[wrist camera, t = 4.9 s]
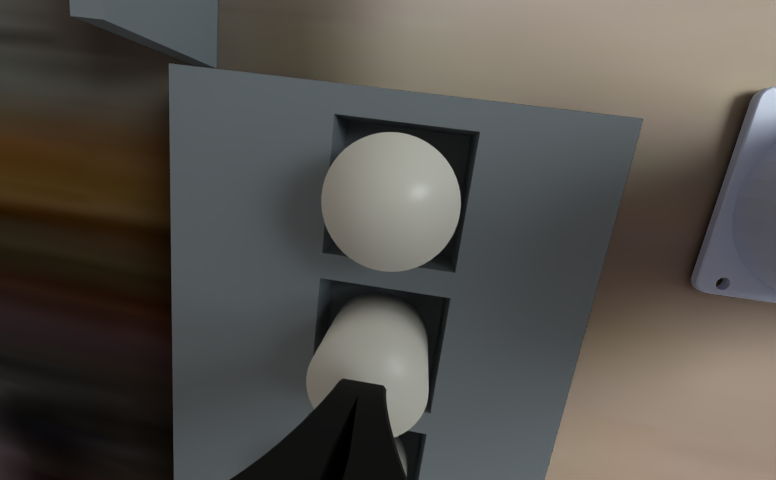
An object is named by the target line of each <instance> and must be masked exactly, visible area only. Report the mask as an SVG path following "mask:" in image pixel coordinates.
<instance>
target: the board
mask: <svg viewBox="0 0 776 480" xmlns="http://www.w3.org/2000/svg"><path fill="white" fill-rule="evenodd" d="M642 122H643V119H642V118H633V117H625V116H616V115H608V114H599V113H591V112H582V111H573V110H565V109H556V108H548V107H539V106H531V105H522V104H514V103H505V102H496V101H488V100H479V99H471V98H462V97H454V96H445V95H436V94H428V93H419V92H411V91H402V90H394V89H385V88H376V87H368V86H359V85H351V84H342V83H334V82H325V81H317V80H308V79H299V78H291V77H282V76H274V75H265V74H257V73H248V72H239V71H231V70H222V69H214V68H205V67H197V66H188V65H179V64H171V63H169V127H170V208H171V288H172V369H173V450H174V480H230V479H231V478H233V477H234V476H236V475H237V474H238V473H240V472H241V471H243V470H244V469H246V468H247V467H249V466H250V465H251V464H253V463H254V462H255V461H257V460H258V459H259V458H261V457H262V456H263V455H264V454H266V453H267V452H268V451H269V450H271V449H272V448H273V447H274V446H276V445H277V444H278V443H279V442H280V441H281V440H283V439H284V438H285V437H286V436H287V435H288V434H289V433H290V432H291V431H293V430H294V429H295V428H296V427H297V426H298V425H299V424H300V423H301V422H302V421H303V420H304V419H305V418H306V417H307V416H308V415H309V414H310V413H311V412H312V411H313V410H314V408H313V407H312V405H311V402H310V400H309V397H308V393H307V387H306V376H307V370H308V367H309V364H310V362H311V360H312V358H313V356H314V354H315V353H316V351H317V349H318V347H319V345H320V344H321V342H322V340H323V338H324V337H325V335H326V333H327V331H328V329H329V328H330V326H331V324H332V322H333V321H334V319H335V317H336V315H337V314H338V312H339V311H340V309H341V308H342V307H343V306H344V305H345V304H346V303H347V302H348V301H350V300H351V299H353V298H355V297H357V296H359V295H362V294H366V293H372V292H382V293H388V294H392V295H395V296H398V297H400V298H402V299H404V300H405V301H407V302H408V303H410V304H411V305H412V306H413V307H414V308H415V309H416V310H417V311H418V312H419V314H420V315H421V317H422V319H423V321H424V323H425V326H426V329H427V334H428V382H429V394H428V401H427V405H426V408H425V410H424V412H423V414H422V416H421V417H420V419H419V420H418V421H417V423H416V424H415V425H414V426H413V427H411V428H410V429H409V430H408V431H406V432H405V433H403V434H401V435H399V436H398V437H399V439H400V440H401V441H402V443H403V445H404V447H405V449H406V452H407V458H408V465H407V479H408V480H545V476H546V473H547V469H548V465H549V462H550V458H551V454H552V451H553V447H554V443H555V440H556V436H557V432H558V429H559V425H560V421H561V418H562V414H563V411H564V407H565V403H566V400H567V396H568V392H569V389H570V385H571V381H572V378H573V374H574V370H575V367H576V363H577V359H578V356H579V352H580V348H581V345H582V341H583V338H584V334H585V330H586V327H587V323H588V319H589V316H590V312H591V308H592V305H593V301H594V297H595V294H596V290H597V286H598V283H599V279H600V275H601V272H602V268H603V264H604V261H605V257H606V254H607V250H608V246H609V243H610V239H611V235H612V232H613V228H614V224H615V221H616V217H617V213H618V210H619V206H620V202H621V199H622V195H623V191H624V188H625V184H626V181H627V177H628V173H629V170H630V166H631V162H632V159H633V155H634V151H635V148H636V144H637V140H638V137H639V133H640V129H641V126H642ZM383 132H399V133H404V134H409V135H412V136H415V137H418V138H420V139H422V140H424V141H426V142H427V143H429V144H430V145H432V146H433V147H434V148H435V149H437V150H438V151H439V152H440V153H441V154H442V155H443V157H444V158H445V159H446V160H447V161H448V163H449V165H450V166H451V168H452V169H453V172H454V174H455V176H456V178H457V182H458V185H459V189H460V196H461V209H460V216H459V220H458V224H457V227H456V229H455V232H454V234H453V236H452V237H451V239H450V241H449V242H448V244H447V245H446V246H445V248H444V249H443V250H442V251H441V252H440V253H439V254H438V255H436V256H435V257H434V258H433V259H431V260H430V261H428V262H426V263H425V264H423V265H421V266H418V267H416V268H413V269H410V270H405V271H399V272H385V271H378V270H374V269H370V268H368V267H365V266H363V265H361V264H359V263H357V262H355V261H354V260H352V259H351V258H349V257H348V256H347V255H346V254H345V253H343V252H342V251H341V250H340V248H339V247H338V246H337V245H336V244H335V242H334V241H333V239H332V238H331V236H330V234H329V232H328V230H327V228H326V225H325V222H324V218H323V214H322V206H321V195H322V188H323V184H324V180H325V177H326V175H327V173H328V170H329V168H330V167H331V165H332V163H333V162H334V160H335V159H336V158H337V157H338V155H339V154H340V153H341V152H342V151H343V150H344V149H345V148H347V147H348V146H349V145H351V144H352V143H354V142H355V141H357V140H359V139H361V138H363V137H366V136H369V135H372V134H377V133H383Z"/></svg>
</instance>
